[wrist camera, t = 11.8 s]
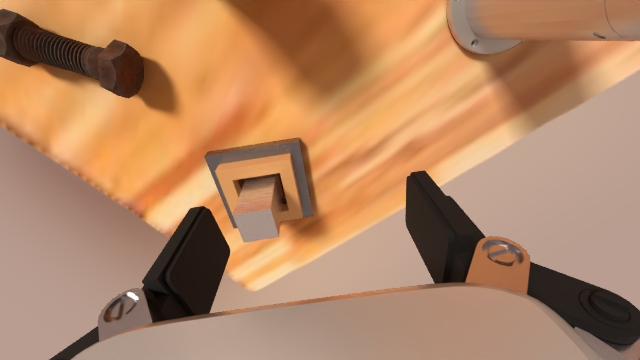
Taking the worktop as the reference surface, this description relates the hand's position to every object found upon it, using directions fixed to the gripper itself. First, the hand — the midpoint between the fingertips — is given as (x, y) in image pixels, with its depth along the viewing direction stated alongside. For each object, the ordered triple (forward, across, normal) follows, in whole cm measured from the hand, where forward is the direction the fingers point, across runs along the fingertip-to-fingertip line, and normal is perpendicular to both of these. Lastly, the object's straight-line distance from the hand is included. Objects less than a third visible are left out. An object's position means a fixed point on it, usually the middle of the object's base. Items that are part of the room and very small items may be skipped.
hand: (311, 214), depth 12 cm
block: (+23, +9, +11) cm, 27 cm away
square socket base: (+23, +9, +11) cm, 27 cm away
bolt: (+23, +25, -10) cm, 36 cm away
